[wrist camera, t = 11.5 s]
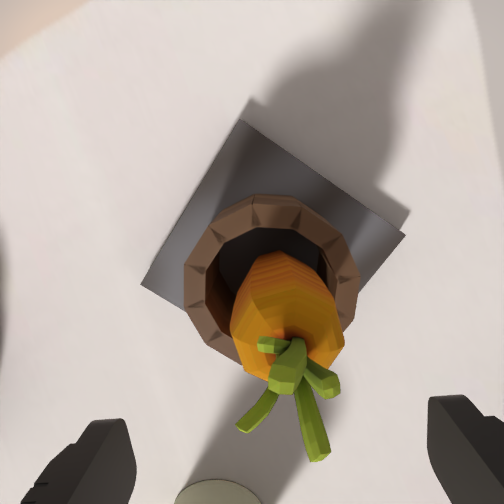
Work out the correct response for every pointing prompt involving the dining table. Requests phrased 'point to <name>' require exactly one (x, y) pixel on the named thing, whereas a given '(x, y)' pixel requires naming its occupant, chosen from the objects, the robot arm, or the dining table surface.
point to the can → (216, 493)
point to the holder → (265, 235)
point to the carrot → (288, 342)
